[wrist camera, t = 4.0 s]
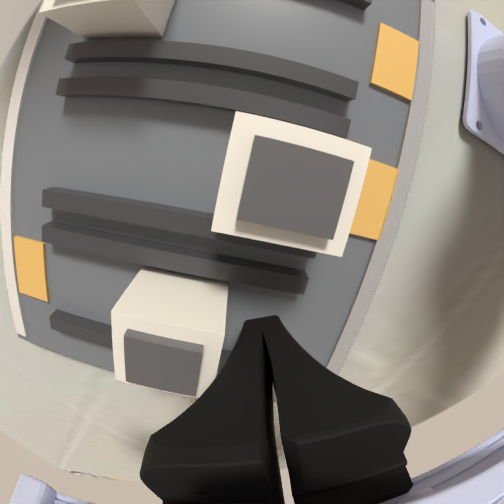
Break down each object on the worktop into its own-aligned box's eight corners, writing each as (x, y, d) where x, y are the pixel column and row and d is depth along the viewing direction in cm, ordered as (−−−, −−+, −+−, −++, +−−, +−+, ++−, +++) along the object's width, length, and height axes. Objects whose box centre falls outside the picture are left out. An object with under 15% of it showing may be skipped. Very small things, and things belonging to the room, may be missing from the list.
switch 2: (228, 283, 12) (224, 343, 8) (216, 342, 13) (210, 408, 9) (143, 266, 11) (106, 317, 8) (140, 326, 12) (112, 386, 9)
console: (422, 5, 9) (443, -7, 7) (317, 388, 16) (325, 413, 14) (81, -45, 7) (66, -60, 5) (28, 326, 14) (12, 344, 12)
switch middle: (331, 146, 10) (378, 148, 6) (312, 224, 11) (346, 262, 7) (237, 123, 10) (235, 108, 6) (219, 204, 11) (209, 235, 7)
